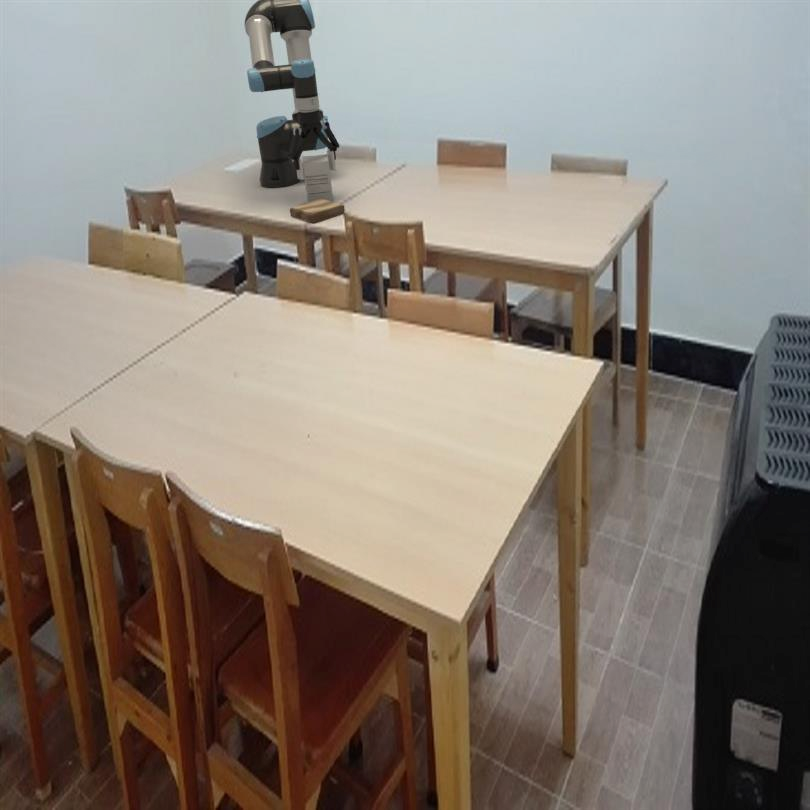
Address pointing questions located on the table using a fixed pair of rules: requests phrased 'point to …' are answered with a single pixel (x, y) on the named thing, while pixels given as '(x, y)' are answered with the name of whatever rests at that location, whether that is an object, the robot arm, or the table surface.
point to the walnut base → (317, 210)
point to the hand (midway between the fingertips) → (317, 174)
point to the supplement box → (317, 177)
